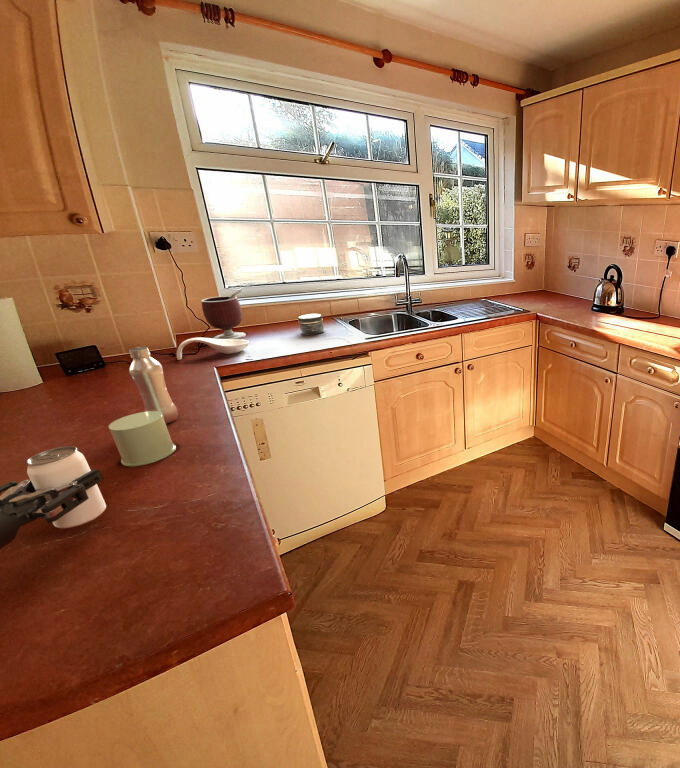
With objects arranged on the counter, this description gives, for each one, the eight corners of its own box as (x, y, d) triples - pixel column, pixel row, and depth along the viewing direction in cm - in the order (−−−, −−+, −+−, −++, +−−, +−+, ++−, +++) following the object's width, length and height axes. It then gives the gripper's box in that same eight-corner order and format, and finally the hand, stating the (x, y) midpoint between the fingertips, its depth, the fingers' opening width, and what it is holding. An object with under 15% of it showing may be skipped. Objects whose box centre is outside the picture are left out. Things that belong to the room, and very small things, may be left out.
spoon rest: (249, 345, 175) (245, 328, 172) (251, 352, 166) (247, 334, 163) (179, 356, 163) (173, 338, 160) (177, 364, 154) (170, 345, 151)
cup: (139, 471, 88) (123, 433, 85) (112, 463, 92) (96, 426, 88) (186, 449, 97) (174, 414, 93) (159, 442, 100) (147, 407, 97)
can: (85, 528, 68) (55, 464, 64) (42, 531, 68) (8, 467, 63) (117, 503, 74) (91, 443, 70) (77, 505, 74) (49, 445, 69)
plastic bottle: (147, 430, 106) (118, 354, 98) (151, 420, 111) (123, 347, 103) (179, 424, 109) (153, 350, 101) (181, 414, 114) (156, 343, 107)
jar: (328, 332, 193) (325, 315, 190) (306, 336, 186) (303, 319, 184) (319, 328, 200) (316, 312, 197) (297, 332, 193) (294, 316, 190)
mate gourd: (208, 343, 179) (193, 295, 171) (215, 335, 191) (202, 290, 183) (249, 338, 184) (237, 292, 177) (253, 331, 196) (243, 288, 189)
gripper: (-16, 525, 53) (111, 455, 69) (-116, 519, 54) (32, 452, 70) (11, 570, 56) (127, 493, 71) (-85, 564, 57) (50, 489, 73)
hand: (80, 473), depth 71 cm, fingers closed on can, 6 cm apart
